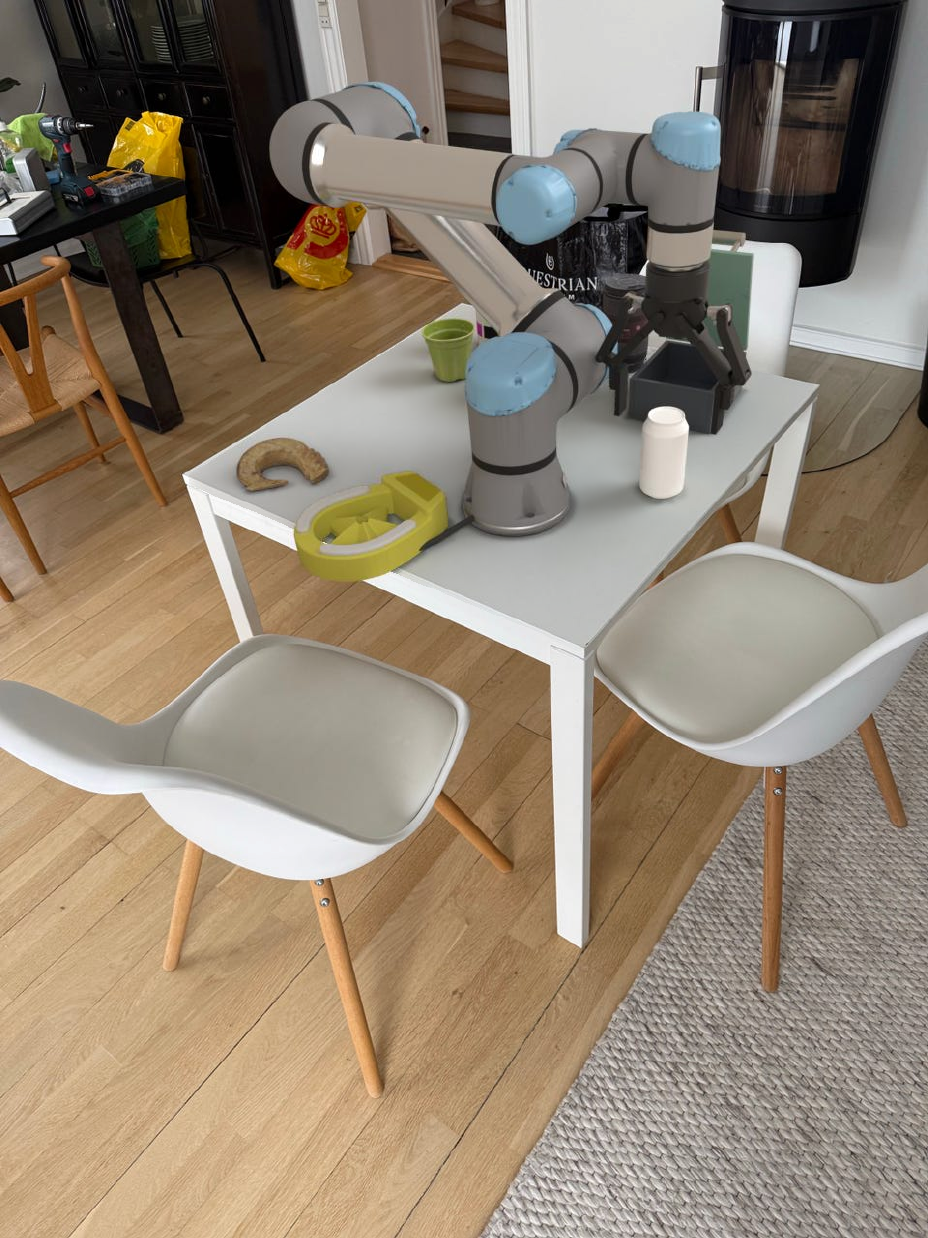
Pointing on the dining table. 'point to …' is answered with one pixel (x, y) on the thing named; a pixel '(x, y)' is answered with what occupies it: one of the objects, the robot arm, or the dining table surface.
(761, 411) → the dining table surface
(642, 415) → the box
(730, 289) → the green door with handle
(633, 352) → the camera lens
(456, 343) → the plant pot
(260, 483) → the artifact
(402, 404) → the dining table surface
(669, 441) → the beverage can
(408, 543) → the yellow apple slicer
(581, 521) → the dining table surface
